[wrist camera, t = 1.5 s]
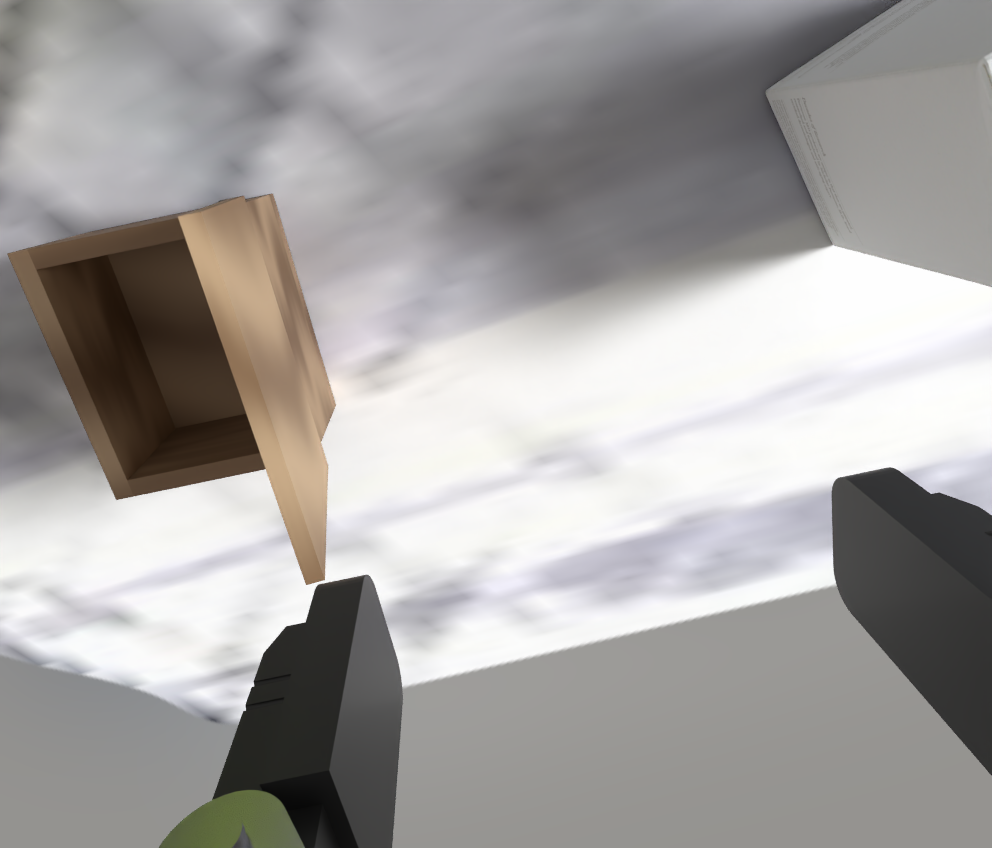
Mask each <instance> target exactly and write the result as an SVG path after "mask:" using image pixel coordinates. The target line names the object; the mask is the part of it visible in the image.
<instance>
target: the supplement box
mask: <svg viewBox="0 0 992 848" xmlns="http://www.w3.org/2000/svg"><path fill="white" fill-rule="evenodd" d="M766 96H767V98H768V101H769V103H770V105H771V108H772V110H773V112H774V114H775V117H776V119H777V121H778V123H779V126H780V128H781V130H782V132H783V134H784V137H785V139H786V141H787V143H788V146H789V148H790V150H791V152H792V155H793V157H794V159H795V161H796V164H797V166H798V168H799V171H800V173H801V175H802V177H803V180H804V182H805V184H806V187H807V189H808V191H809V193H810V196H811V198H812V200H813V202H814V205H815V207H816V209H817V211H818V214H819V216H820V218H821V220H822V223H823V225H824V227H825V229H826V232H827V234H828V236H829V238H830V240H831V242H832V243H833V245H834V246H838V247H842V248H845V249H849V250H853V251H857V252H861V253H864V254H868V255H872V256H876V257H880V258H884V259H888V260H891V261H895V262H899V263H903V264H907V265H911V266H914V267H918V268H922V269H926V270H930V271H934V272H938V273H941V274H945V275H949V276H953V277H957V278H961V279H964V280H968V281H972V282H975V283H979V284H983V285H986V286H990V287H992V0H902V1H900V2H899V3H897V4H896V5H894V6H893V7H891V8H890V9H888V10H887V11H885V12H884V13H882V14H880V15H879V16H877V17H876V18H874V19H873V20H871V21H870V22H868V23H867V24H865V25H864V26H862V27H861V28H859V29H857V30H856V31H854V32H853V33H851V34H850V35H848V36H847V37H845V38H844V39H842V40H841V41H839V42H838V43H836V44H835V45H833V46H832V47H830V48H829V49H827V50H826V51H824V52H823V53H821V54H820V55H818V56H817V57H815V58H814V59H812V60H811V61H809V62H808V63H806V64H804V65H803V66H801V67H800V68H798V69H797V70H795V71H794V72H792V73H791V74H789V75H788V76H786V77H785V78H783V79H782V80H780V81H779V82H777V83H776V84H774V85H773V86H771V87H770V88H769V89H767V90H766Z"/></svg>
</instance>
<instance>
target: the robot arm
mask: <svg viewBox="0 0 992 848" xmlns="http://www.w3.org/2000/svg"><path fill="white" fill-rule="evenodd" d="M832 526H833V565H834V575H835V580H836V584H837V587H838V590H839V593H840V595H841V597H842V599H843V601H844V603H845V605H846V607H847V608H848V610H849V611H850V612H851V614H852V615H853V616H854V617H855V618H856V619H857V620H858V622H859V623H860V624H861V625H862V626H863V627H864V629H865V630H866V631H867V632H868V633H869V634H870V636H871V637H872V638H873V639H874V640H875V641H876V643H877V644H878V645H879V646H880V647H881V648H882V649H883V650H884V651H885V653H886V654H887V655H888V656H889V658H890V659H891V660H892V661H893V662H894V663H895V664H896V666H898V668H899V669H900V670H901V671H902V673H903V674H904V675H905V676H906V677H907V678H908V679H909V681H910V682H911V683H912V684H913V685H914V686H915V687H916V689H917V690H918V691H919V692H920V693H921V694H922V695H923V697H924V698H925V699H926V700H927V701H928V703H929V704H930V705H931V706H932V707H933V708H934V709H935V711H936V712H937V713H938V714H939V715H940V716H941V718H942V719H943V720H944V721H945V722H946V723H947V724H948V726H949V727H950V728H951V729H952V730H953V731H954V733H955V734H956V735H957V736H958V737H959V738H960V739H961V740H962V742H963V743H964V744H965V745H966V746H967V748H968V749H969V750H970V751H971V752H972V753H973V755H974V756H975V757H976V758H977V759H978V760H979V761H980V763H981V764H982V765H983V766H984V767H985V768H986V770H987V771H988V772H989V773H990V774H991V775H992V515H990V514H989V513H987V512H986V511H984V510H983V509H981V508H980V507H978V506H975V505H972V504H970V503H967V502H964V501H961V500H958V499H956V498H953V497H950V496H947V495H944V494H942V493H935V494H930V493H929V492H927V491H926V490H925V489H923V488H922V487H920V486H919V485H918V484H916V483H915V482H914V481H912V480H911V479H909V478H908V477H907V476H905V475H904V474H902V473H901V472H900V471H898V470H896V469H894V468H884V469H879V470H874V471H869V472H864V473H860V474H855V475H850V476H845V477H840V478H838V479H836V480H835V482H834V484H833V487H832ZM402 700H403V695H402V682H401V675H400V669H399V664H398V660H397V657H396V653H395V650H394V647H393V643H392V640H391V637H390V634H389V631H388V627H387V624H386V621H385V618H384V614H383V611H382V608H381V605H380V601H379V598H378V595H377V592H376V588H375V585H374V583H373V581H372V579H371V577H370V576H369V575H363V576H358V577H353V578H348V579H343V580H339V581H334V582H329V583H324V584H319V585H318V586H317V587H316V589H315V592H314V595H313V599H312V602H311V606H310V609H309V613H308V616H307V620H306V623H301V624H296V625H291V626H286V627H285V629H284V630H283V631H282V632H281V633H280V635H279V636H278V637H277V638H276V639H275V641H274V642H273V643H272V644H271V645H270V646H269V648H268V649H267V650H266V651H265V652H264V654H263V657H262V660H261V662H260V665H259V668H258V671H257V674H256V677H255V680H254V687H252V688H251V691H250V694H249V697H248V699H247V702H246V711H243V714H242V717H241V719H240V722H239V725H238V728H237V731H236V734H235V737H234V740H233V742H232V745H231V748H230V751H229V754H228V757H227V759H226V762H225V765H224V768H223V771H222V774H221V777H220V779H219V782H218V785H217V788H216V791H215V794H214V797H213V799H212V801H210V802H208V803H206V804H204V805H202V806H201V807H199V808H198V809H196V810H195V811H194V812H192V813H191V814H189V815H188V816H187V817H186V818H185V819H183V820H182V821H181V822H180V823H179V824H178V825H177V826H176V827H175V828H174V829H173V830H172V831H171V832H170V833H169V834H168V836H167V837H166V838H165V839H164V841H163V842H162V843H161V845H160V846H159V848H392V841H393V826H394V813H395V800H396V798H395V797H396V786H397V785H396V784H397V772H398V758H399V743H400V731H401V717H402Z"/></svg>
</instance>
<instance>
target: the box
mask: <svg viewBox="0 0 992 848" xmlns="http://www.w3.org/2000/svg"><path fill="white" fill-rule="evenodd" d="M245 201H246V204H247V208H248V211H249V214H250V217H251V220H252V224H253V227H254V230H255V233H256V236H257V240H258V243H259V246H260V249H261V252H262V256H263V259H264V262H265V265H266V269H267V272H268V275H269V278H270V281H271V285H272V288H273V291H274V294H275V297H276V301H277V304H278V307H279V310H280V313H281V317H282V320H283V323H284V326H285V329H286V333H287V336H288V339H289V342H290V345H291V349H292V352H293V355H294V358H295V361H296V365H297V368H298V371H299V374H300V377H301V381H302V384H303V387H304V390H305V393H306V397H307V400H308V403H309V406H310V409H311V413H312V416H313V419H314V422H315V425H316V429H317V432H318V435H319V438H320V441H322V438H323V436H324V433H325V431H326V428H327V426H328V423H329V421H330V418H331V416H332V413H333V411H334V409H335V406H336V404H335V401H334V397H333V394H332V391H331V387H330V384H329V381H328V377H327V374H326V371H325V367H324V364H323V360H322V357H321V354H320V350H319V347H318V344H317V340H316V337H315V334H314V330H313V327H312V323H311V320H310V317H309V313H308V310H307V307H306V303H305V300H304V297H303V293H302V290H301V286H300V283H299V280H298V276H297V273H296V270H295V266H294V263H293V260H292V256H291V253H290V249H289V246H288V243H287V239H286V236H285V233H284V229H283V226H282V223H281V219H280V216H279V212H278V209H277V206H276V202H275V199H274V196H273V194H269V195H264V196H259V197H254V198H249V199H245ZM197 210H198V209H197ZM192 211H195V210H192ZM192 211H188V212H183V213H178V214H173V215H168V216H164V217H159V218H154V219H149V220H145V221H140V222H135V223H130V224H126V225H121V226H116V227H111V228H107V229H102V230H97V231H92V232H88V233H84V234H80V235H76V236H73V237H69V238H65V239H61V240H57V241H54V242H50V243H46V244H42V245H38V246H35V247H31V248H27V249H23V250H19V251H16V252H12V253H8V256H9V259H10V261H11V263H12V266H13V268H14V270H15V272H16V275H17V277H18V279H19V281H20V284H21V286H22V288H23V290H24V293H25V295H26V297H27V299H28V302H29V304H30V306H31V308H32V311H33V313H34V315H35V317H36V320H37V322H38V324H39V326H40V329H41V331H42V333H43V335H44V338H45V340H46V342H47V344H48V347H49V349H50V351H51V354H52V356H53V358H54V360H55V363H56V365H57V367H58V369H59V372H60V374H61V376H62V378H63V381H64V383H65V385H66V387H67V390H68V392H69V394H70V396H71V399H72V401H73V403H74V405H75V408H76V410H77V412H78V414H79V417H80V419H81V421H82V423H83V426H84V428H85V430H86V432H87V435H88V437H89V439H90V441H91V444H92V446H93V448H94V451H95V453H96V455H97V457H98V460H99V462H100V464H101V466H102V469H103V471H104V473H105V475H106V478H107V480H108V482H109V484H110V487H111V489H112V491H113V493H114V496H115V498H116V500H118V499H123V498H128V497H133V496H138V495H143V494H148V493H152V492H157V491H162V490H167V489H172V488H177V487H181V486H186V485H191V484H196V483H201V482H206V481H210V480H215V479H220V478H225V477H230V476H235V475H240V474H244V473H249V472H254V471H259V470H264V469H266V468H265V465H264V463H263V460H262V457H261V454H260V451H259V448H258V445H257V442H256V440H255V437H254V434H253V431H252V428H251V425H250V422H249V420H248V417H247V414H246V411H245V408H244V405H243V402H242V399H241V397H240V394H239V391H238V388H237V385H236V382H235V379H234V377H233V374H232V371H231V368H230V365H229V362H228V359H227V356H226V354H225V351H224V348H223V345H222V342H221V339H220V336H219V334H218V331H217V328H216V325H215V322H214V319H213V316H212V313H211V311H210V308H209V305H208V302H207V299H206V296H205V293H204V291H203V288H202V285H201V282H200V279H199V276H198V273H197V270H196V268H195V265H194V262H193V259H192V256H191V253H190V250H189V248H188V245H187V242H186V239H185V236H184V233H183V230H182V227H181V225H180V222H179V219H178V216H181V215H184V214H187V213H190V212H192Z"/></svg>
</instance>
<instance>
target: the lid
mask: <svg viewBox="0 0 992 848" xmlns="http://www.w3.org/2000/svg"><path fill="white" fill-rule="evenodd" d="M178 219H179V222H180V225H181V227H182V230H183V233H184V236H185V239H186V242H187V245H188V248H189V250H190V253H191V256H192V259H193V262H194V265H195V268H196V270H197V273H198V276H199V279H200V282H201V285H202V288H203V291H204V293H205V296H206V299H207V302H208V305H209V308H210V311H211V313H212V316H213V319H214V322H215V325H216V328H217V331H218V334H219V336H220V339H221V342H222V345H223V348H224V351H225V354H226V356H227V359H228V362H229V365H230V368H231V371H232V374H233V377H234V379H235V382H236V385H237V388H238V391H239V394H240V397H241V399H242V402H243V405H244V408H245V411H246V414H247V417H248V420H249V422H250V425H251V428H252V431H253V434H254V437H255V440H256V442H257V445H258V448H259V451H260V454H261V457H262V460H263V463H264V465H265V468H266V471H267V474H268V477H269V480H270V483H271V485H272V488H273V491H274V494H275V497H276V500H277V503H278V506H279V508H280V511H281V514H282V517H283V520H284V523H285V526H286V528H287V531H288V534H289V537H290V540H291V543H292V546H293V549H294V551H295V554H296V557H297V560H298V563H299V566H300V569H301V571H302V574H303V577H304V580H305V583H306V585H308V584H312V583H315V582H319V581H323V580H325V555H326V519H327V482H328V464H327V461H326V458H325V454H324V451H323V448H322V445H321V441H320V438H319V435H318V432H317V429H316V425H315V422H314V419H313V416H312V413H311V409H310V406H309V403H308V400H307V397H306V393H305V390H304V387H303V384H302V381H301V377H300V374H299V371H298V368H297V365H296V361H295V358H294V355H293V352H292V349H291V345H290V342H289V339H288V336H287V333H286V329H285V326H284V323H283V320H282V317H281V313H280V310H279V307H278V304H277V301H276V297H275V294H274V291H273V288H272V285H271V281H270V278H269V275H268V272H267V269H266V265H265V262H264V259H263V256H262V252H261V249H260V246H259V243H258V240H257V236H256V233H255V230H254V227H253V224H252V220H251V217H250V214H249V211H248V208H247V204H246V201H245V198H244V196H240V197H235V198H230V199H225V200H221V201H219V202H218V203H215V204H213V205H210V206H207V207H204V208H201V209H198V210H195V211H192V212H190V213H187V214H184V215H181V216H178Z"/></svg>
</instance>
